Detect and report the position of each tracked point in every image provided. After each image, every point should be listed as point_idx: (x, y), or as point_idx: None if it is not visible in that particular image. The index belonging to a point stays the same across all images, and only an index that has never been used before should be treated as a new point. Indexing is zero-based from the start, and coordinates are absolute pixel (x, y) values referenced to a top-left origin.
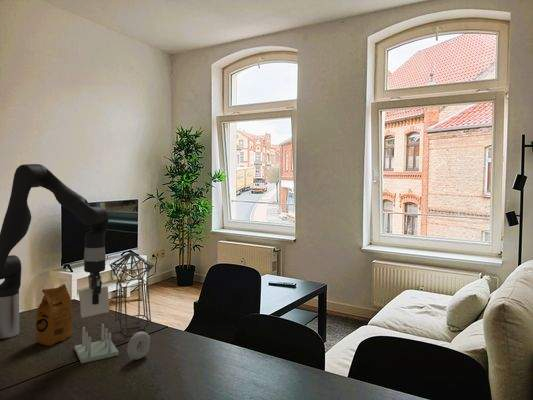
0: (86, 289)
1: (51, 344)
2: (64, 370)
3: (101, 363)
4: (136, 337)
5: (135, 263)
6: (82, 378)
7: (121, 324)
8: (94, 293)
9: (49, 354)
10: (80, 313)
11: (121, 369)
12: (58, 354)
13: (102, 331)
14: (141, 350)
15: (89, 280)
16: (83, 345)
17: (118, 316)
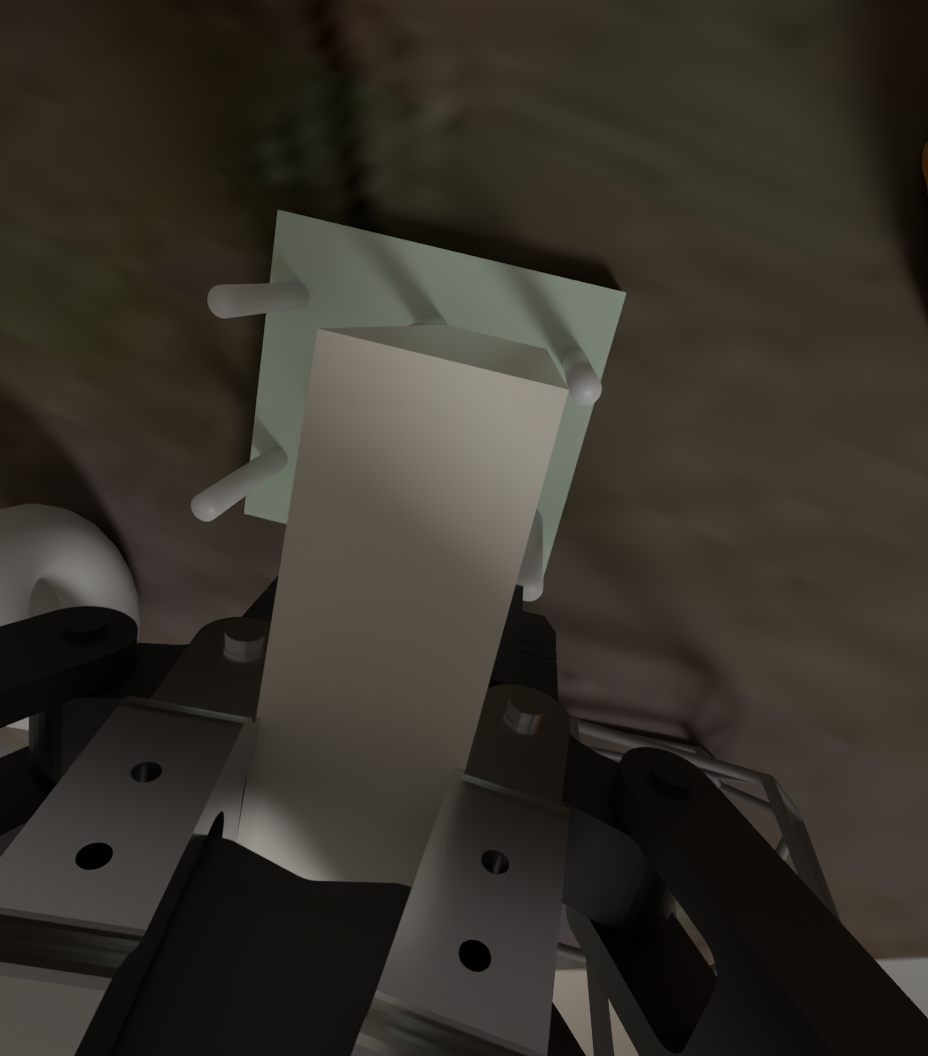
0: (430, 617)
1: (925, 150)
2: (238, 34)
3: (191, 339)
4: None
5: None
6: (8, 101)
7: (735, 794)
8: (40, 634)
9: (699, 48)
10: (538, 348)
11: (11, 399)
12: (629, 124)
13: None
14: (64, 607)
15: (373, 1012)
16: (565, 356)
17: (803, 842)
